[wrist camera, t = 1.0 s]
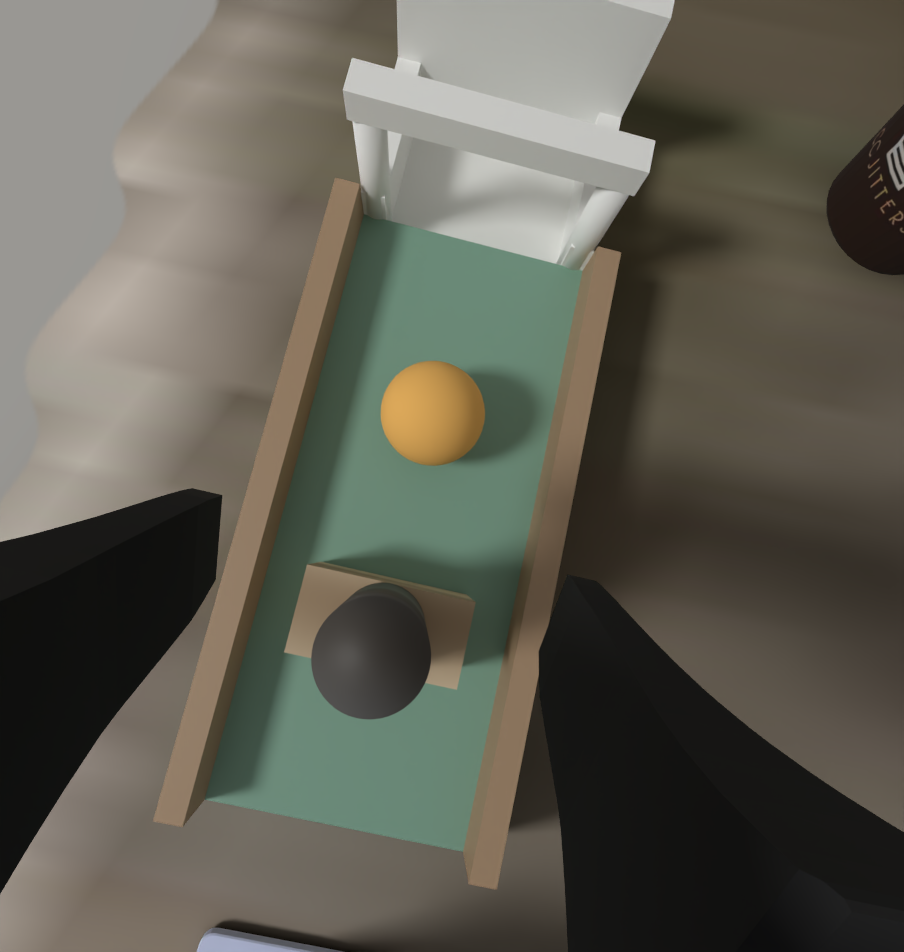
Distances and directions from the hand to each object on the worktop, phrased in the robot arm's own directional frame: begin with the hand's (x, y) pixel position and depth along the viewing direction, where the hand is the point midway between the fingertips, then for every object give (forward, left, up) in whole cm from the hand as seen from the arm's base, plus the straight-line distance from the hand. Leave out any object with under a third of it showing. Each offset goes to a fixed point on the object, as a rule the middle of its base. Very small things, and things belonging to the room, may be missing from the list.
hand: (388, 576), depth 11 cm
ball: (+6, 0, -9) cm, 11 cm away
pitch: (+6, 0, -12) cm, 14 cm away
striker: (-2, 0, -11) cm, 11 cm away
